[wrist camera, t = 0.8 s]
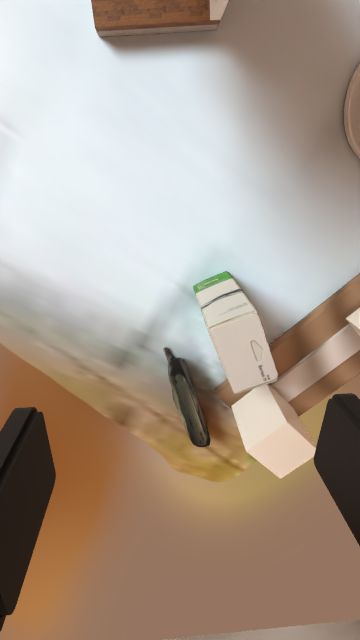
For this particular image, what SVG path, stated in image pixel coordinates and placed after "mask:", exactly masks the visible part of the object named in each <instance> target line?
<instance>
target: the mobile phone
mask: <svg viewBox="0 0 360 640" xmlns="http://www.w3.org/2000/svg"><path fill="white" fill-rule="evenodd" d="M163 351H164V353H165V355H166V357H167V360H168V364H169V365H168V374H169V380H170V383H171V386H172V392H173V400H174V402H175V405H176V407H177V410H178V413H179V415H180V417H181V419H182V421H183V423H184V426H185V428H186V431H187V433H188V435H189V437H190V440H191V441H192V443H193V444H194V445H196V446H197V447H206V446H209V445H210V437H209V432H208V428H207V423H206V420H205V418H204V416H203V413H202V410H201V408H200V405H199V402H198V399H197V397H196V394H195V390H194V385H193V380H192V376H191V373H190V371H189V369H188V367H187V366H186V364H185V363H184V361H183V360H182V359H181V358H173V357H172V356H171V355H170V353H169V350H168V348H164V349H163Z"/></svg>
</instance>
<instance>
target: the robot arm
mask: <svg viewBox="0 0 360 640" xmlns="http://www.w3.org/2000/svg"><path fill="white" fill-rule="evenodd" d="M344 126H345V132H346V136H347V139H348V142H349V144H350V146H351V148H352V150H353V152H354V153H355V154H356V155H357V156H358V157H359V159H360V145H359V143H360V63H359V65H358V67H357V68H356V70H355V72H354V74H353V76H352V79H351V82H350V84H349V87H348V90H347V95H346V99H345V105H344ZM314 464H315V467H316V469H317V471H318V473H319V474H320V476H321V478H322V479H323V481H324V483H325V485H326V487H327V488H328V490H329V492H330V494H331V496H332V498H333V499H334V501H335V503H336V505H337V506H338V508H339V510H340V512H341V514H342V515H343V517H344V519H345V521H346V522H347V524H348V526H349V528H350V530H351V531H352V533H353V535H354V537H355V538H356V540H357V542H358V544H359V546H360V399H359V398H358V397H357V396H356V395H354V394H335V395H334V396H333V397H332V399H329V401H328V403H327V407H326V411H325V415H324V419H323V423H322V427H321V431H320V435H319V439H318V443H317V446H316V450H315V454H314ZM55 477H56V473H55V468H54V463H53V458H52V454H51V449H50V444H49V440H48V435H47V431H46V426H45V421H44V417H43V413H42V412H37V409H36V408H35V407H29V408H15V409H14V410H13V412H12V413H11V415H10V416H9V418H8V420H7V421H6V423H5V425H4V427H3V428H2V430H1V431H0V631H1V630H2V626H3V624H4V621H5V617H6V615H11V614H12V613H13V611H14V609H15V607H16V604H17V601H18V597H19V594H20V591H21V588H22V585H23V582H24V578H25V575H26V572H27V569H28V566H29V563H30V560H31V557H32V553H33V550H34V547H35V544H36V541H37V538H38V535H39V531H40V528H41V525H42V521H43V519H44V516H45V512H46V509H47V506H48V503H49V500H50V497H51V494H52V490H53V487H54V483H55ZM166 640H360V620H355V621H345V622H334V623H323V624H313V625H302V626H293V627H283V628H273V629H263V630H253V631H244V632H233V633H224V634H214V635H204V636H194V637H184V638H175V639H166Z"/></svg>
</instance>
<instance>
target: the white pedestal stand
mask: <svg viewBox="0 0 360 640" xmlns="http://www.w3.org/2000/svg"><path fill="white" fill-rule="evenodd" d="M228 1H229V0H91V2H92V9H93V16H94V23H95V28H96V31H97V33H98V36H99V37H106V36H123V35H139V34H156V33H172V32H189V31H205V30H216V29H217V27H218V24H219V22H220V20H221V17H222V15H223V13H224V10H225V8H226V6H227V3H228Z"/></svg>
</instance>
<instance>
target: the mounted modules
mask: <svg viewBox="0 0 360 640" xmlns="http://www.w3.org/2000/svg"><path fill="white" fill-rule="evenodd" d="M346 320H347V321H348V322H349V323H350V325H351V326H352V327H353V329H354V330H355V331H356V332H357V334H358V335H359V336H360V308H359V309H357V310H356V311H355V312H353V313H352V314H351V315H349V316H348V317H347V318H346ZM231 407H232V410H233V413H234V416H235V419H236V422H237V425H238V428H239V431H240V434H241V437H242V440H243V443H244V446H245V449H246V452H248V453H249V454H250V455H251V456H253V457H254V458H255V459H256V460H258V461H259V462H260V463H261V464H263V465H264V466H265V467H266V468H268V469H269V470H270V471H272V472H273V473H274V474H275V475H277V476H278V477H279V478H282V477H284V476H285V475H287V474H288V473H290V472H291V471H293V470H294V469H296V468H297V467H299V466H300V465H302V464H303V463H305V462H306V461H308V460H309V459H311V458H312V457H314V454H315V450H316V445H315V443H314V442H313V440H312V438H311V436H310V435H309V433H308V432H307V430H306V428H305V426H304V425H303V423H302V421H301V420H300V418H299V416H298V415H297V413H296V411H295V410H294V408H293V407H292V406H291V405H290V404H289V403H288V402H287V401H286V400H285V399H283V398H282V397H281V396H280V395H279V394H278V393H277V392H276V391H275V390H274V389H273V388H272V387H271V386H270V385H269V384H266V385H263V386H260V387H257V388H254V389H253V390H252V391H250V392H249V393H248V394H246V395H245V396H244V397H243V398H241V399H240V400H239V401H237V402H236V403H235V404H233V405H232V406H231Z"/></svg>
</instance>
